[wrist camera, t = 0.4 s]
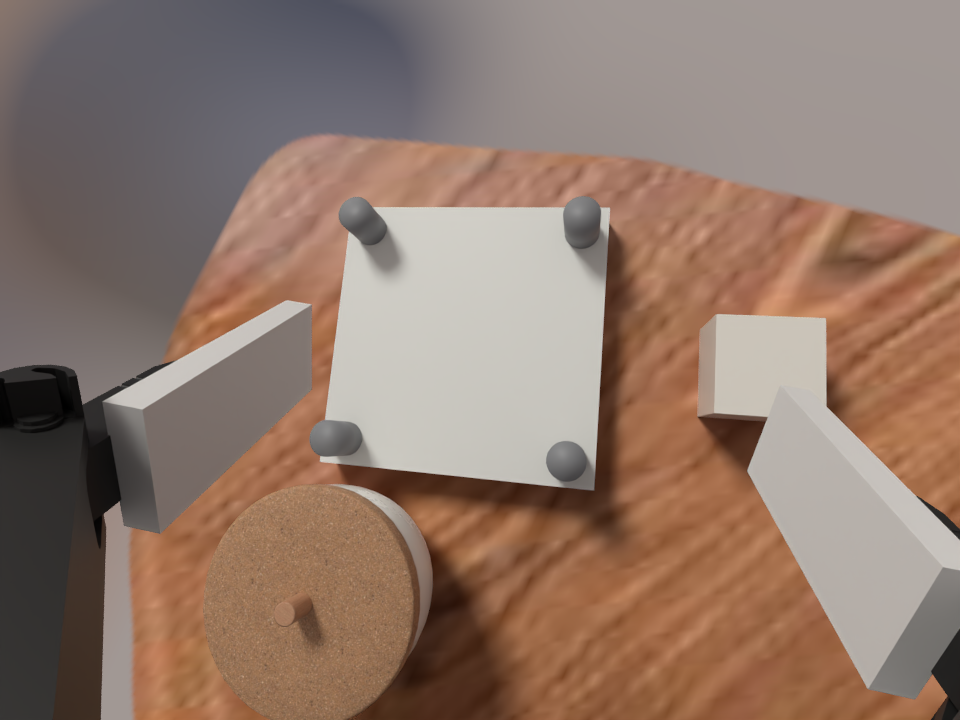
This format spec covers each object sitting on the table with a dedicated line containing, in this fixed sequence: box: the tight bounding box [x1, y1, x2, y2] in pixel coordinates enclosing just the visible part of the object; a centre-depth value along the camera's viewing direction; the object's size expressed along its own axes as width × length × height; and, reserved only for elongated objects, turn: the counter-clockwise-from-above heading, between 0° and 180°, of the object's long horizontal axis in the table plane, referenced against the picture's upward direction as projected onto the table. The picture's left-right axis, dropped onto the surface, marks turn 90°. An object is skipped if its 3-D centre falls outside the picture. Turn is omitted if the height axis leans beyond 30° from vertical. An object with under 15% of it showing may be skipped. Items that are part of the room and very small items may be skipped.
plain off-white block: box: [698, 314, 826, 422], centre depth 28 cm, size 5×5×4 cm
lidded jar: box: [203, 484, 433, 720], centre depth 27 cm, size 11×11×9 cm
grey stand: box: [310, 196, 610, 491], centre depth 31 cm, size 16×16×4 cm
